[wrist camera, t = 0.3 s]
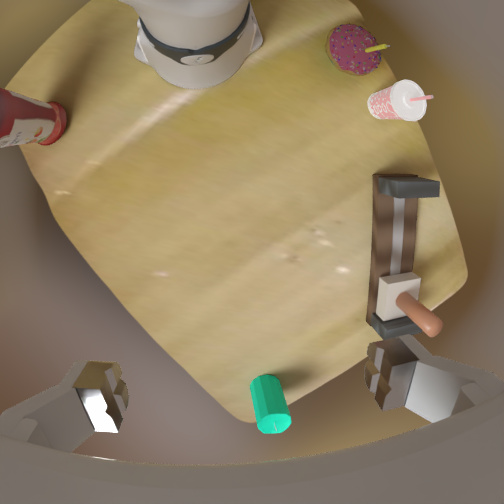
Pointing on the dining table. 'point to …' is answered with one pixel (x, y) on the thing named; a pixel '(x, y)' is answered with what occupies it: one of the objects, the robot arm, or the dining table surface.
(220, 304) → the dining table surface
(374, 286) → the rail
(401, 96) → the beverage cup
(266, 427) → the candle
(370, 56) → the cupcake
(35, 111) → the liquor
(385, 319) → the peach cylinder post
